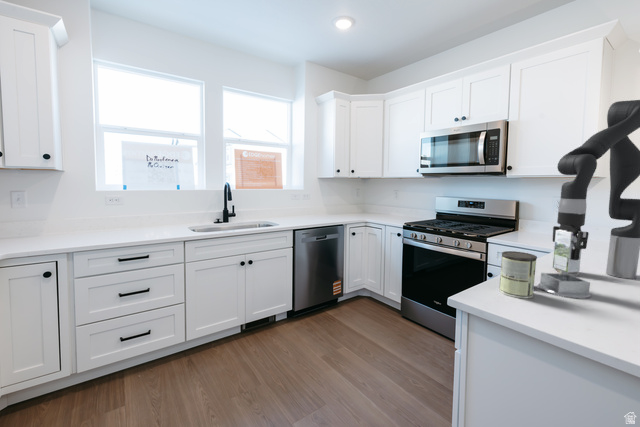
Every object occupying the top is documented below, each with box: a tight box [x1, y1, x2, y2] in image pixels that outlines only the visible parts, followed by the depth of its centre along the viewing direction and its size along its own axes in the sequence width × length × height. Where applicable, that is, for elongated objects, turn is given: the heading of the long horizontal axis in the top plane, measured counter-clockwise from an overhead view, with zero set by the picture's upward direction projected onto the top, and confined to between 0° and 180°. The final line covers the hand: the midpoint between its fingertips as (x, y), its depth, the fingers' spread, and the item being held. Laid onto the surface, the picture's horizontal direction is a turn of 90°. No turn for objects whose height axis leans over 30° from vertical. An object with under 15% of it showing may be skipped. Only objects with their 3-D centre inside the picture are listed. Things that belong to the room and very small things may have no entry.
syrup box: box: [552, 230, 583, 272], centre depth 108 cm, size 6×6×14 cm
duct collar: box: [537, 272, 591, 299], centre depth 110 cm, size 15×15×5 cm
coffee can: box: [499, 250, 538, 299], centre depth 106 cm, size 10×10×14 cm
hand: (567, 257), depth 108 cm, fingers closed on syrup box, 6 cm apart
